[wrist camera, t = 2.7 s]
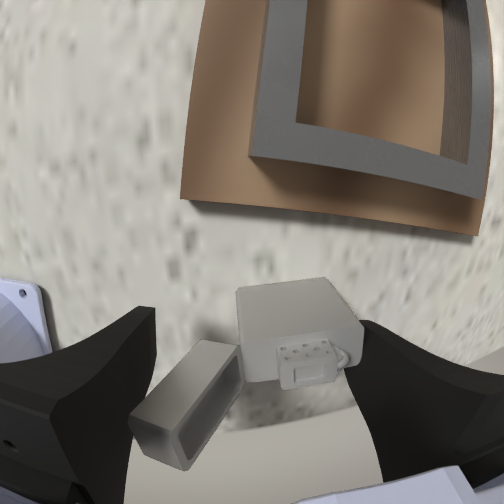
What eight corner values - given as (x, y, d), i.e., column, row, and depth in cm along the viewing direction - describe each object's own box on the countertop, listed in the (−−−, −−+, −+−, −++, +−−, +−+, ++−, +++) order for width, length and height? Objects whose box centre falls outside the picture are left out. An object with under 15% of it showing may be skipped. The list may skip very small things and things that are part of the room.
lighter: (328, 276, 14) (417, 395, 6) (328, 310, 15) (403, 438, 7) (168, 294, 14) (120, 434, 6) (175, 328, 14) (143, 473, 7)
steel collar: (247, 155, 11) (251, 155, 9) (276, -76, 8) (283, -101, 6) (453, 192, 12) (481, 200, 10) (456, -14, 9) (478, -26, 7)
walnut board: (183, 195, 12) (179, 199, 12) (229, -89, 8) (230, -101, 7) (465, 231, 14) (477, 236, 13) (472, -13, 10) (482, -18, 9)
